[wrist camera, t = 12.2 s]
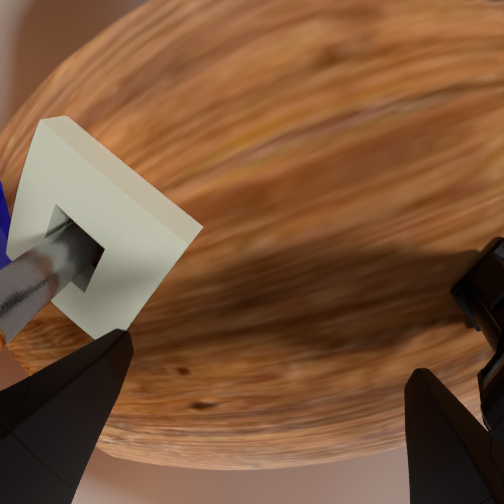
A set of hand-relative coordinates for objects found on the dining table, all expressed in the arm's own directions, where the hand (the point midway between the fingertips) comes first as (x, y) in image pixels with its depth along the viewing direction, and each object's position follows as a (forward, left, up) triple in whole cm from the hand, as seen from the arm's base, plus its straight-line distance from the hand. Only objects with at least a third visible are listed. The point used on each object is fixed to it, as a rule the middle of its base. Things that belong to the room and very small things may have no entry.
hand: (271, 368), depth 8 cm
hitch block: (+11, +11, -12) cm, 20 cm away
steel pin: (+11, +11, -12) cm, 20 cm away
